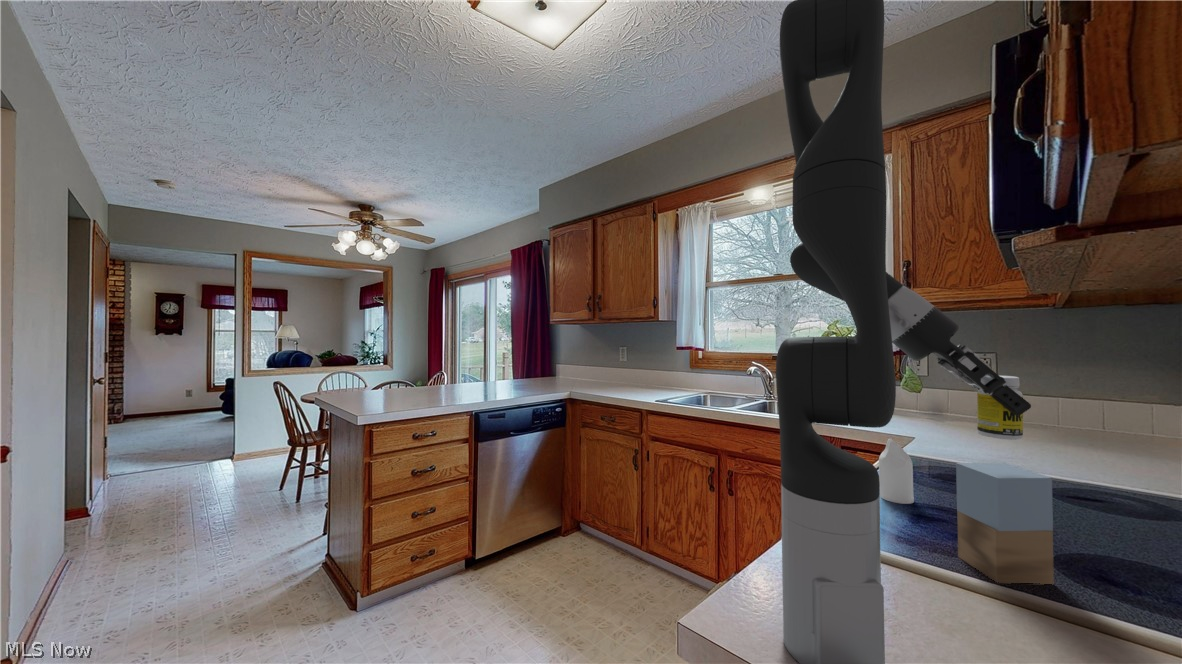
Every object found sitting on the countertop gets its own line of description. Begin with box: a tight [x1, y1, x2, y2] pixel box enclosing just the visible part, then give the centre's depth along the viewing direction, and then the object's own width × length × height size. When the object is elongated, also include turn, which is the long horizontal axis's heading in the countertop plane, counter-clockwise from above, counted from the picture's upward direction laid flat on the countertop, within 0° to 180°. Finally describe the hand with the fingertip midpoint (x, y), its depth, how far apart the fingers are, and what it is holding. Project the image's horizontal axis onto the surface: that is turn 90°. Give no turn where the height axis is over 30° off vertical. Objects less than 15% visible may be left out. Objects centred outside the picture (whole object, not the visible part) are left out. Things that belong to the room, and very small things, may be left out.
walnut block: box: [956, 510, 1055, 586], centre depth 63 cm, size 7×7×7 cm
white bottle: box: [878, 438, 915, 505], centre depth 90 cm, size 6×12×6 cm
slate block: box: [955, 462, 1054, 531], centre depth 63 cm, size 7×7×7 cm
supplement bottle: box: [976, 375, 1024, 441], centre depth 63 cm, size 5×5×8 cm
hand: (1017, 407), depth 62 cm, fingers closed on supplement bottle, 4 cm apart
